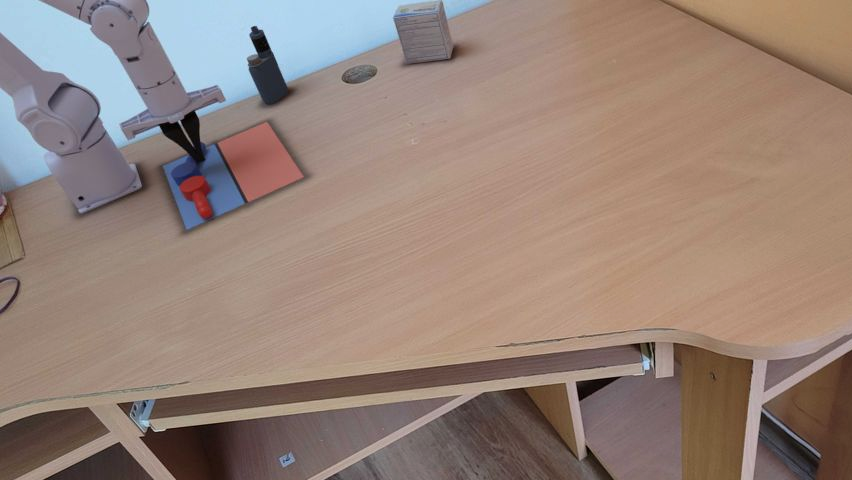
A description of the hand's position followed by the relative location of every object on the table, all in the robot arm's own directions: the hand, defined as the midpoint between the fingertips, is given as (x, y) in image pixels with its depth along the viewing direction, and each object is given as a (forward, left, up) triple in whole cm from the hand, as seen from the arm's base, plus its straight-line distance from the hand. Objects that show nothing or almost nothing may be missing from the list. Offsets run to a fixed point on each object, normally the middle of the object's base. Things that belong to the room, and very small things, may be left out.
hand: (200, 159), depth 108 cm
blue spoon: (-1, +2, -2) cm, 3 cm away
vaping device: (+16, +13, -2) cm, 21 cm away
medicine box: (+42, +5, -2) cm, 42 cm away
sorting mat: (+3, -4, -2) cm, 5 cm away
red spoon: (-2, -9, -2) cm, 9 cm away
